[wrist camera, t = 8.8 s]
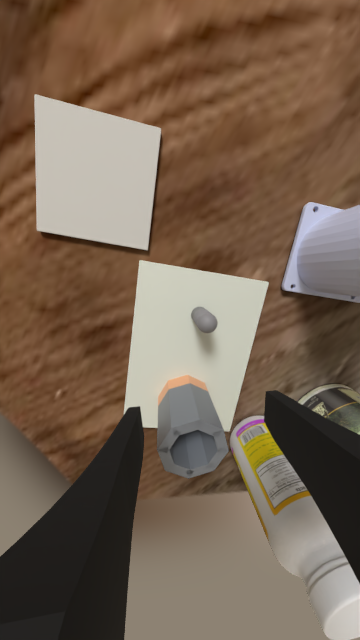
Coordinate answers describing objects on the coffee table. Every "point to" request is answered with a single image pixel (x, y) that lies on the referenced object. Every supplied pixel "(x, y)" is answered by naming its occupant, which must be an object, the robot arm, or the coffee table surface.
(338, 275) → the robot arm
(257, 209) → the coffee table surface
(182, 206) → the coffee table surface
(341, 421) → the coffee can
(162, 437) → the sleeve
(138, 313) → the pin board
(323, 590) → the supplement bottle
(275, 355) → the coffee table surface
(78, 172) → the pad
